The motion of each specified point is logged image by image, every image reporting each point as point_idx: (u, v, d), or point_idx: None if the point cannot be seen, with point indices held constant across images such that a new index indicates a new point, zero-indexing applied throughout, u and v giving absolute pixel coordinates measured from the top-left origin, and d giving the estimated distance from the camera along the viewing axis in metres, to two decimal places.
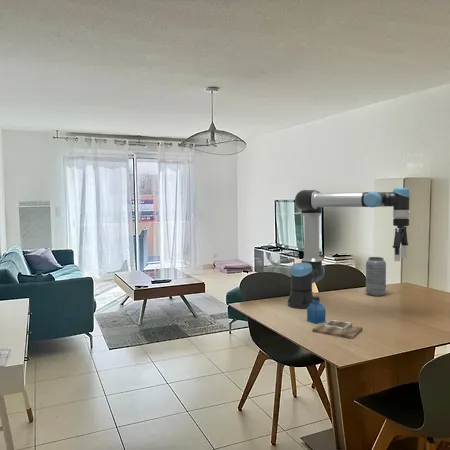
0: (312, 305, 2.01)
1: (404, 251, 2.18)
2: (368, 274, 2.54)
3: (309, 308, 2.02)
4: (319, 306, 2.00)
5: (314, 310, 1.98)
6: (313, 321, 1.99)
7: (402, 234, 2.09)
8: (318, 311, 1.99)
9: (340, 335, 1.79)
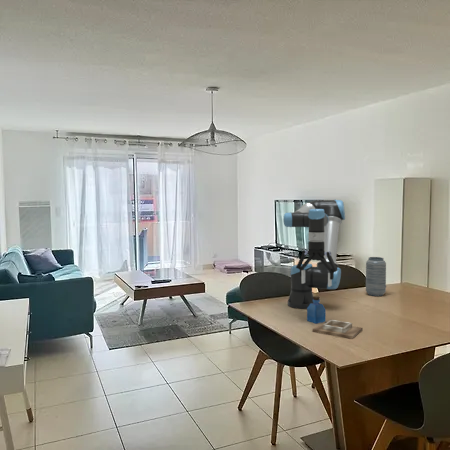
0: (312, 305, 2.01)
1: None
2: (368, 274, 2.54)
3: (309, 308, 2.02)
4: (319, 306, 2.00)
5: (314, 310, 1.98)
6: (313, 321, 1.99)
7: (308, 257, 2.01)
8: (318, 311, 1.99)
9: (340, 335, 1.79)
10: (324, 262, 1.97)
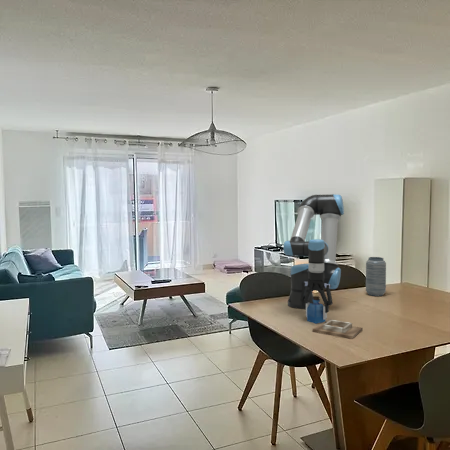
0: (312, 305, 2.01)
1: None
2: (368, 274, 2.54)
3: (309, 308, 2.02)
4: (319, 305, 2.00)
5: (314, 310, 1.98)
6: (313, 321, 1.99)
7: (309, 288, 2.02)
8: (318, 311, 1.99)
9: (340, 335, 1.79)
10: (322, 294, 1.99)
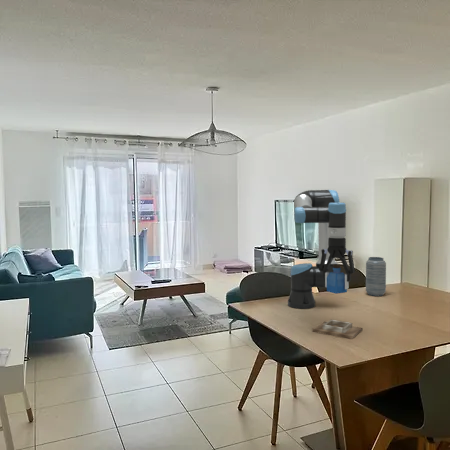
0: (332, 274, 1.85)
1: None
2: (368, 274, 2.54)
3: (329, 277, 1.86)
4: (339, 274, 1.83)
5: (335, 278, 1.82)
6: (334, 291, 1.83)
7: (329, 256, 1.86)
8: (339, 280, 1.82)
9: (340, 335, 1.79)
10: (343, 261, 1.82)
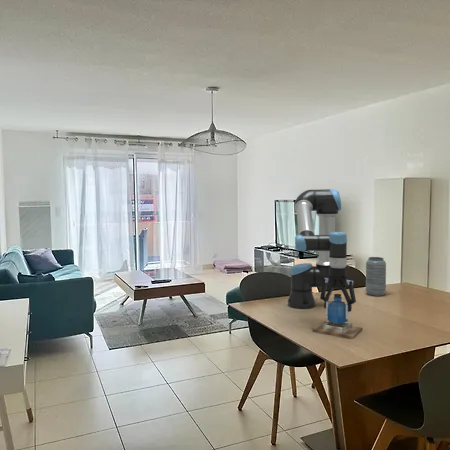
0: (333, 303, 1.85)
1: None
2: (368, 274, 2.54)
3: (330, 306, 1.86)
4: (340, 304, 1.84)
5: (336, 308, 1.83)
6: (334, 321, 1.83)
7: (330, 285, 1.86)
8: (340, 310, 1.83)
9: (340, 335, 1.79)
10: (344, 291, 1.83)
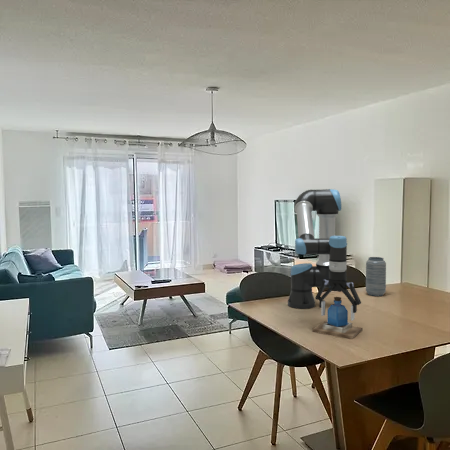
0: (333, 306, 1.85)
1: None
2: (368, 274, 2.54)
3: (330, 310, 1.86)
4: (340, 307, 1.84)
5: (336, 312, 1.83)
6: (334, 324, 1.84)
7: None
8: (340, 313, 1.83)
9: (340, 335, 1.79)
10: (346, 294, 1.82)
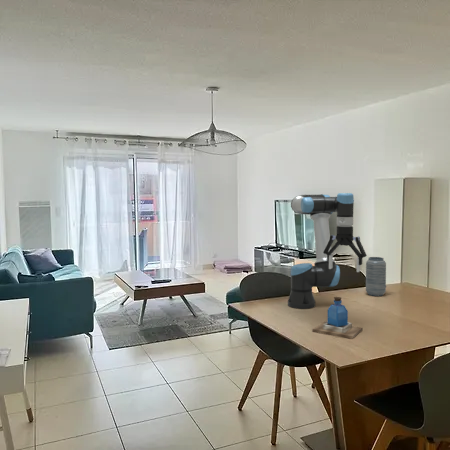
0: (333, 306, 1.85)
1: None
2: (368, 274, 2.54)
3: (330, 310, 1.86)
4: (340, 307, 1.84)
5: (336, 312, 1.83)
6: (334, 324, 1.84)
7: (336, 242, 1.98)
8: (340, 313, 1.83)
9: (340, 335, 1.79)
10: (353, 247, 1.93)
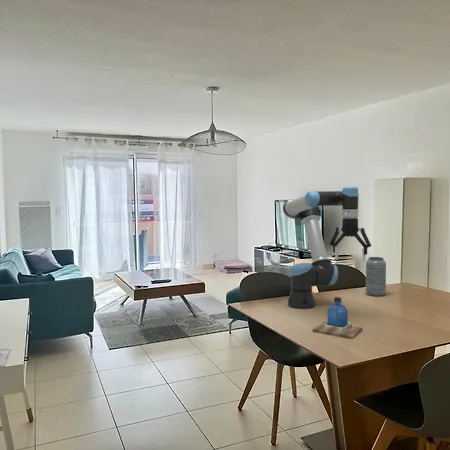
0: (333, 306, 1.85)
1: None
2: (368, 274, 2.54)
3: (330, 310, 1.86)
4: (340, 307, 1.84)
5: (336, 312, 1.83)
6: (334, 324, 1.84)
7: None
8: (340, 313, 1.83)
9: (340, 335, 1.79)
10: (358, 238, 2.03)
